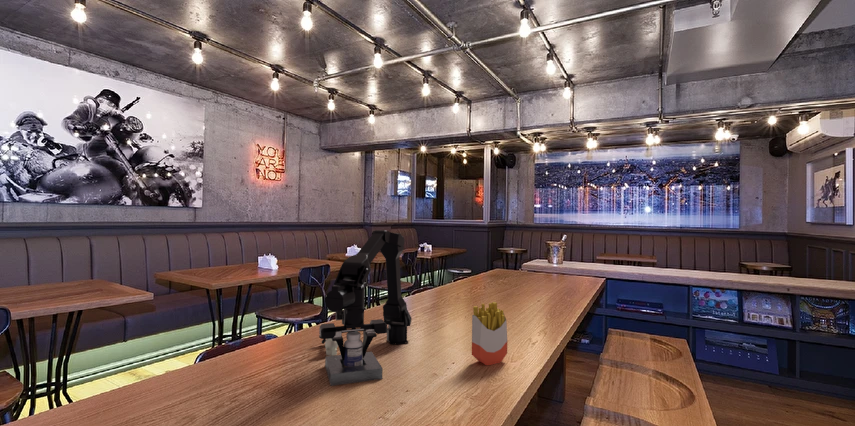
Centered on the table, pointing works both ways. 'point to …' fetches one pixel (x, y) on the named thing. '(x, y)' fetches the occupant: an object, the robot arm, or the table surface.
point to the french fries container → (489, 334)
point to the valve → (330, 346)
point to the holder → (352, 370)
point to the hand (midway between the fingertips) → (353, 358)
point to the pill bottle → (353, 350)
